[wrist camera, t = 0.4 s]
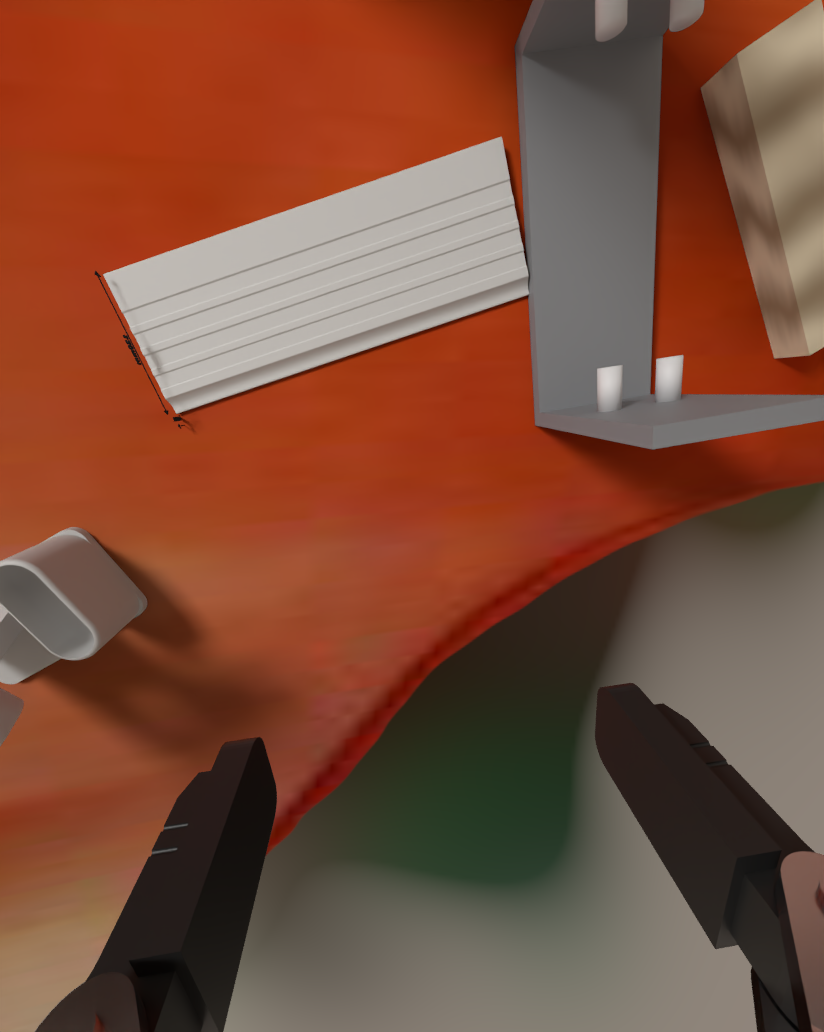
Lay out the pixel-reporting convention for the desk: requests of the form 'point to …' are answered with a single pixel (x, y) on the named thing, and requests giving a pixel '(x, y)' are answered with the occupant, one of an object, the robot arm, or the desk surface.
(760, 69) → the shelf board
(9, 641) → the phone holder
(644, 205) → the shelf frame
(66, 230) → the desk surface
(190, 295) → the baseboard
